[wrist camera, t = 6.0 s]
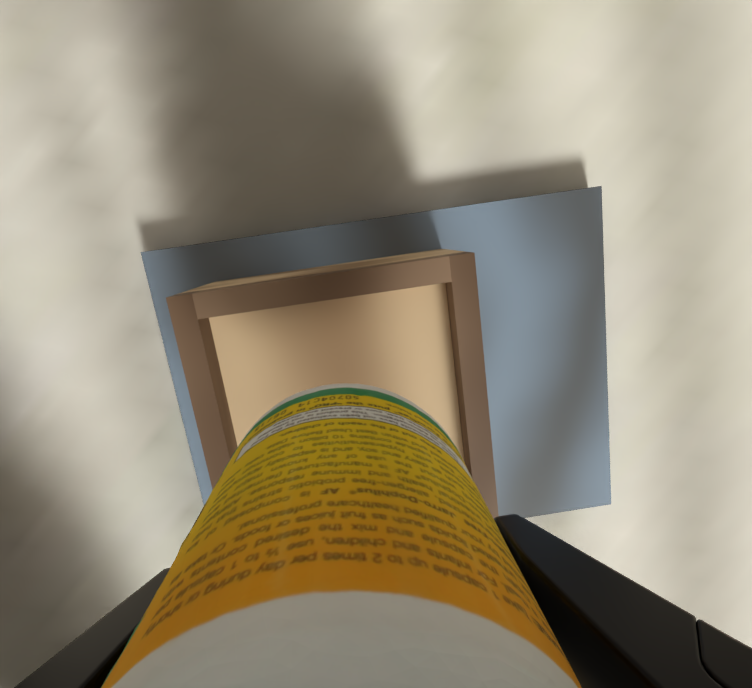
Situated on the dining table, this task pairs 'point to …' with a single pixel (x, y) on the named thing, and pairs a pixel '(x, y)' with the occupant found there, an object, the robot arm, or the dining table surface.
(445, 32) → the dining table surface
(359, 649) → the supplement bottle
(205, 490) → the base
